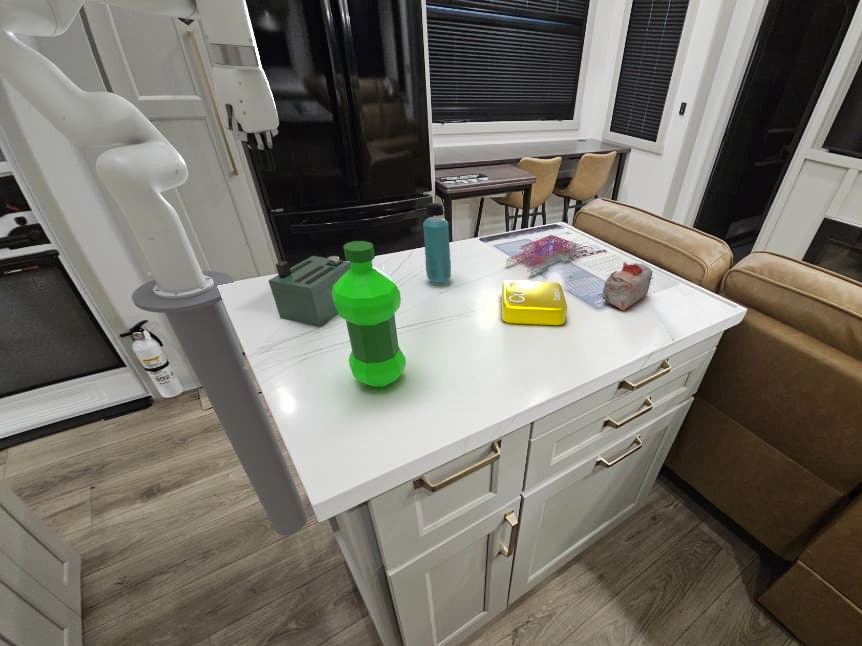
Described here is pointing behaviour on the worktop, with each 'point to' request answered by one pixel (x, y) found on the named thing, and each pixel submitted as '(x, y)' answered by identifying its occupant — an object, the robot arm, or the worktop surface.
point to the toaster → (308, 291)
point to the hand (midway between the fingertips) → (266, 169)
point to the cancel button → (334, 261)
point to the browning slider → (283, 268)
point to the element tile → (533, 303)
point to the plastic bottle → (369, 317)
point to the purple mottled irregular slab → (540, 253)
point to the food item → (627, 285)
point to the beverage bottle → (437, 244)
